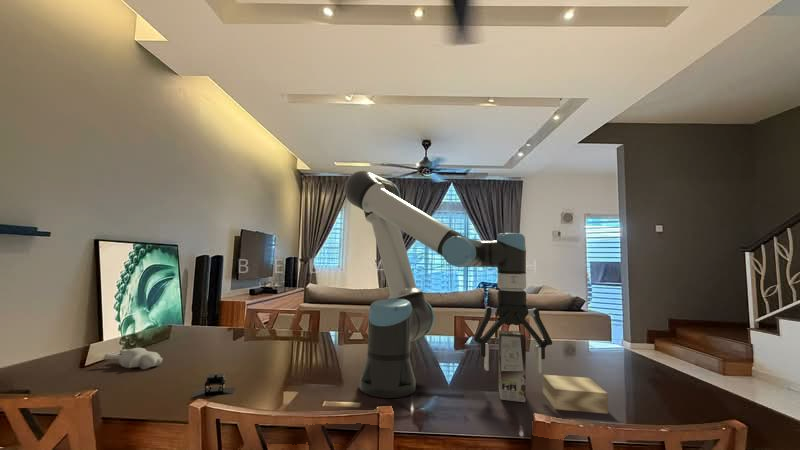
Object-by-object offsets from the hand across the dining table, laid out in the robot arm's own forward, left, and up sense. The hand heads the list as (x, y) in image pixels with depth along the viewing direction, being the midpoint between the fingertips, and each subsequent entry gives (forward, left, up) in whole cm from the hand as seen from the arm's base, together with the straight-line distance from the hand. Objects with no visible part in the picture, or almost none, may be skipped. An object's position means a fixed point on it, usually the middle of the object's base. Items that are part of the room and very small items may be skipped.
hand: (512, 370), depth 98 cm
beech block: (+15, -2, -7) cm, 16 cm away
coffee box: (0, 0, -7) cm, 7 cm away
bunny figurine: (-111, +5, -7) cm, 112 cm away
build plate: (-76, -12, -7) cm, 77 cm away
